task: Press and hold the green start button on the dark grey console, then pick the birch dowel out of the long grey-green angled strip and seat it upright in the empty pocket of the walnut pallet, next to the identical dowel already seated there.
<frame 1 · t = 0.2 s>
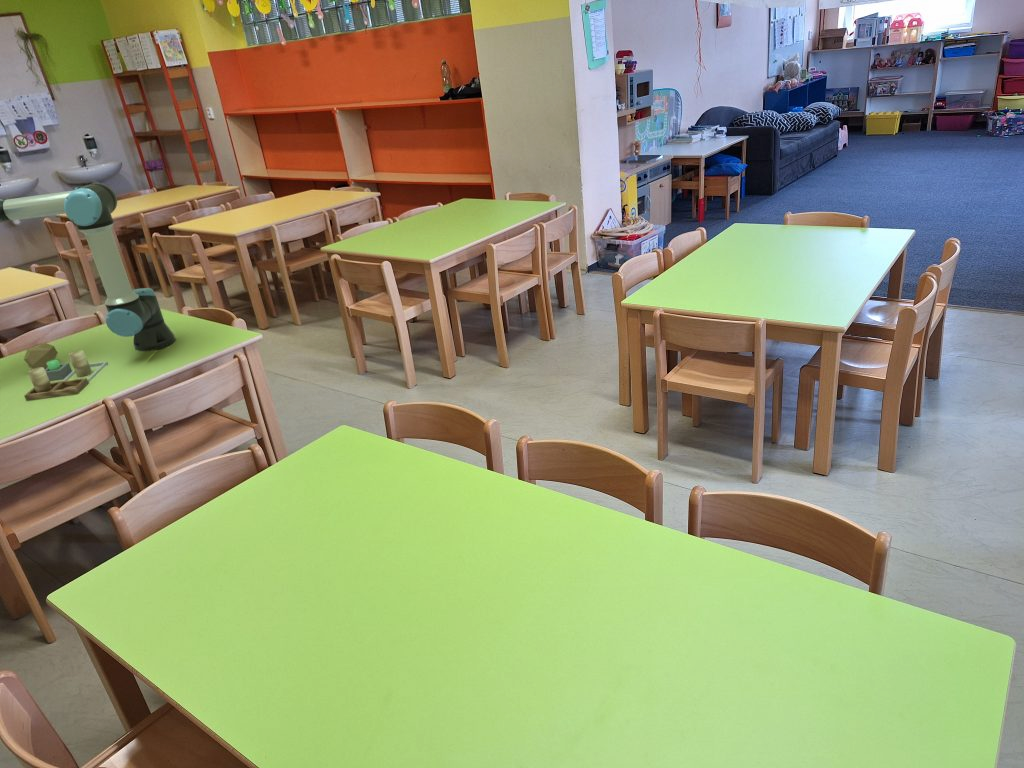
pallet: (59, 394, 253), on the table
button: (55, 368, 264), point 4 cm above the table, slide at 0.0 cm
billet: (85, 375, 265), resting on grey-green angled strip
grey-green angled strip: (85, 376, 265), on the table
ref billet: (46, 393, 252), point 1 cm above the table, touching pallet
console: (59, 378, 266), on the table
low-poly potato: (48, 367, 278), on the table
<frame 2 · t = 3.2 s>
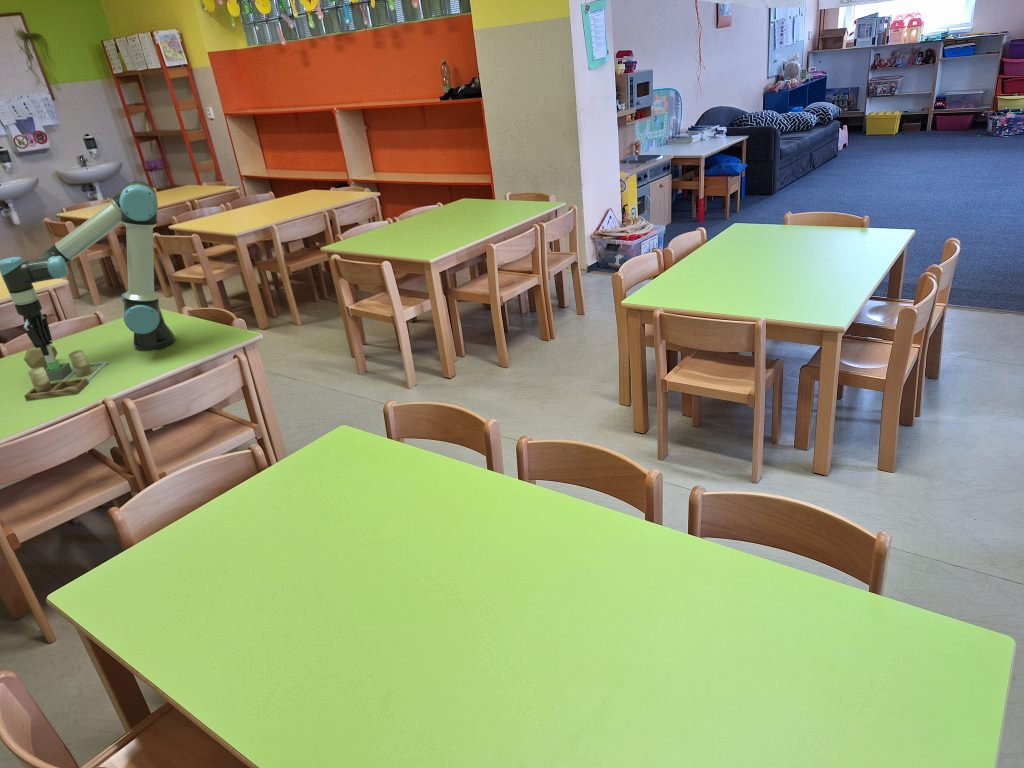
hand: (51, 362, 263), 7 cm above the table, fingers closed
button: (55, 369, 264), point 4 cm above the table, slide at 0.4 cm, touching gripper
everything else where it was.
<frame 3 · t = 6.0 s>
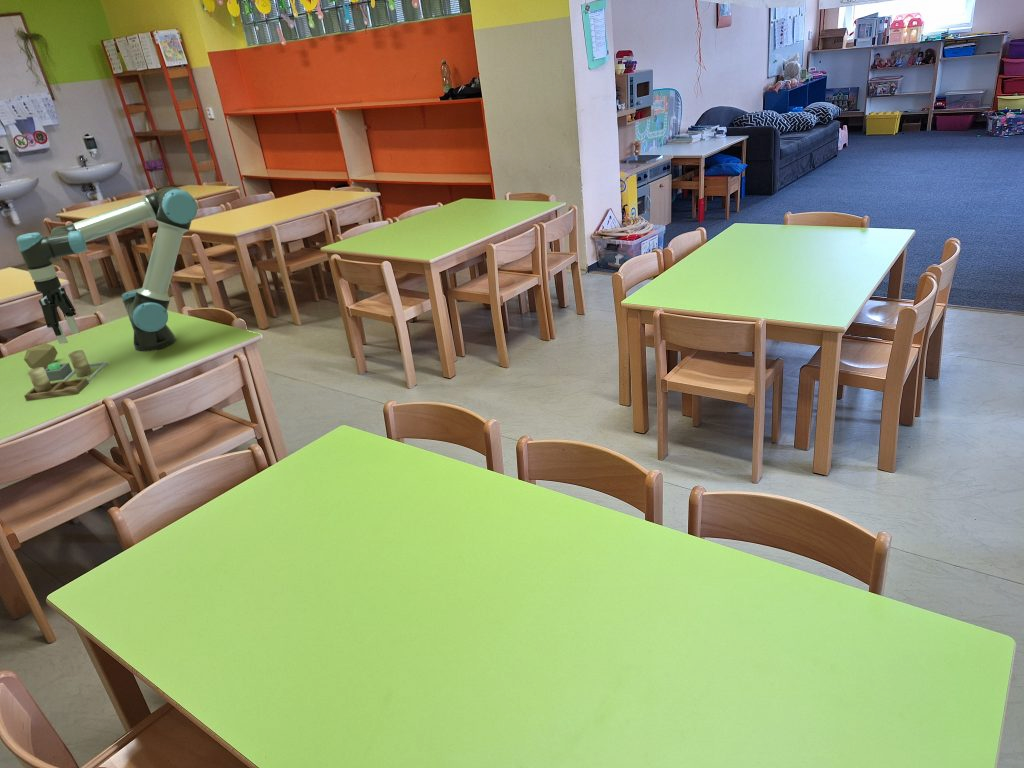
hand: (69, 338, 259), 15 cm above the table, fingers open, 9 cm apart
button: (56, 371, 265), point 3 cm above the table, slide at 1.0 cm
everything else where it was.
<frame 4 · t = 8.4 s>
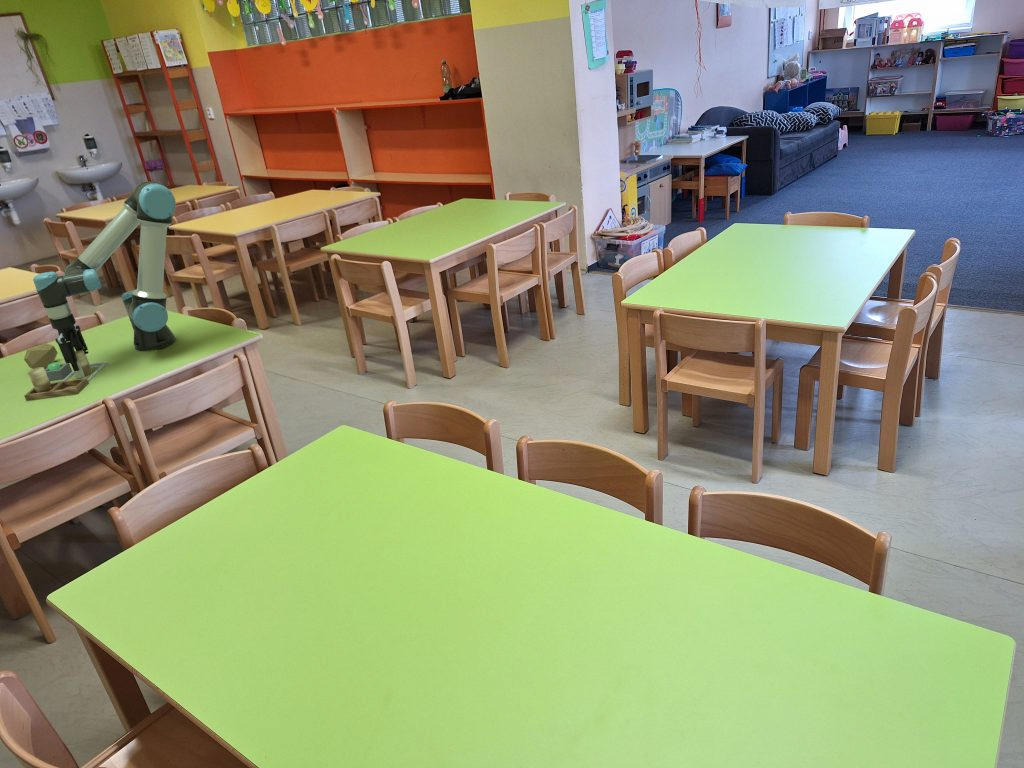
hand: (84, 374, 265), 1 cm above the table, fingers closed on billet, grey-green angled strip, 5 cm apart
billet: (85, 375, 265), resting on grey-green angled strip, touching gripper
everything else where it was.
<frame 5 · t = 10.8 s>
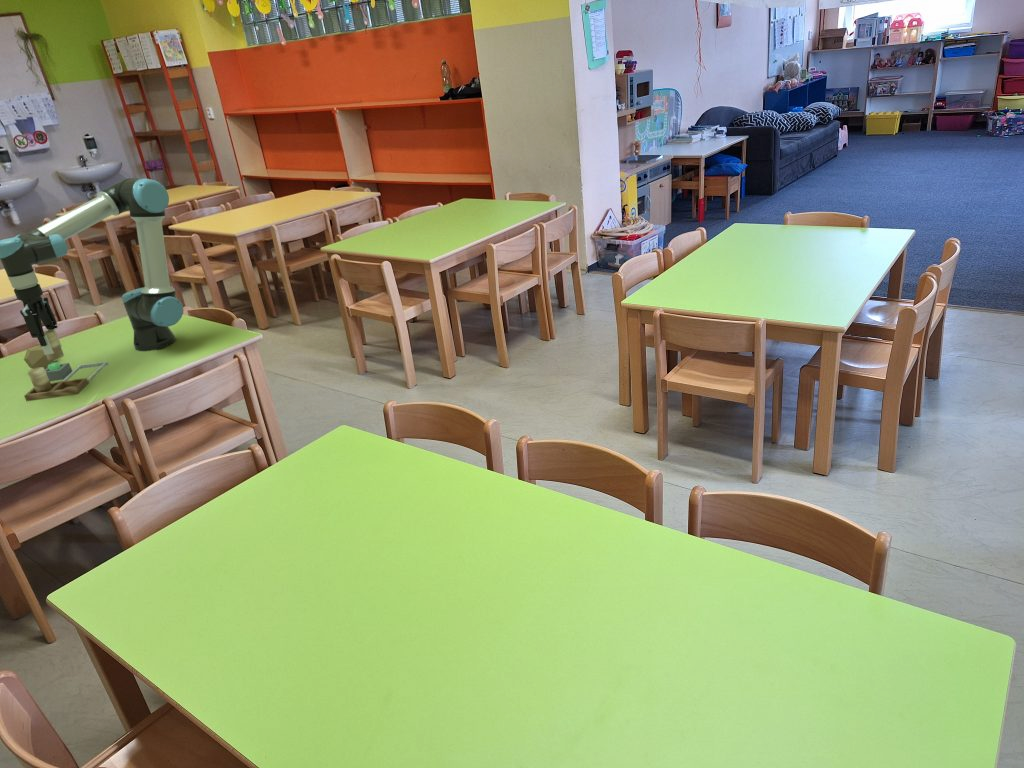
hand: (53, 350, 246), 16 cm above the table, fingers closed on billet, 5 cm apart
billet: (56, 357, 247), point 14 cm above the table, touching gripper
everything else where it was.
when the fingers open (4 cm above the table, at t = 13.3 s): billet stays where it is, resting on pallet.
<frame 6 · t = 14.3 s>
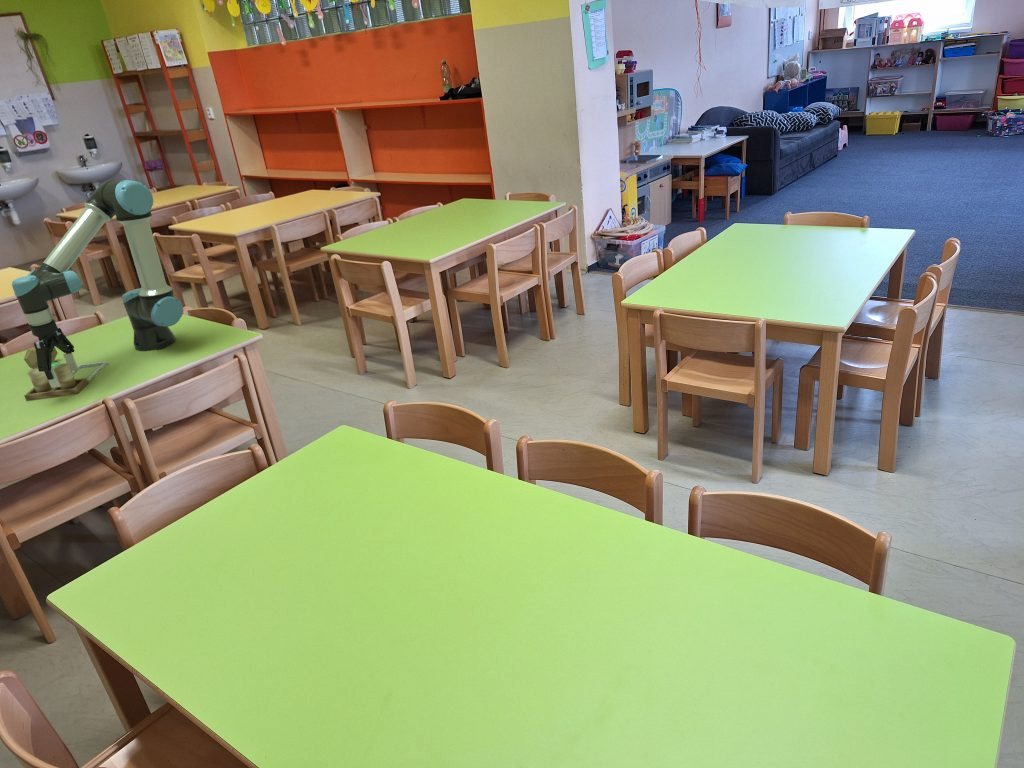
hand: (65, 378, 250), 6 cm above the table, fingers open, 13 cm apart
billet: (70, 390, 252), point 1 cm above the table, touching pallet
everything else where it was.
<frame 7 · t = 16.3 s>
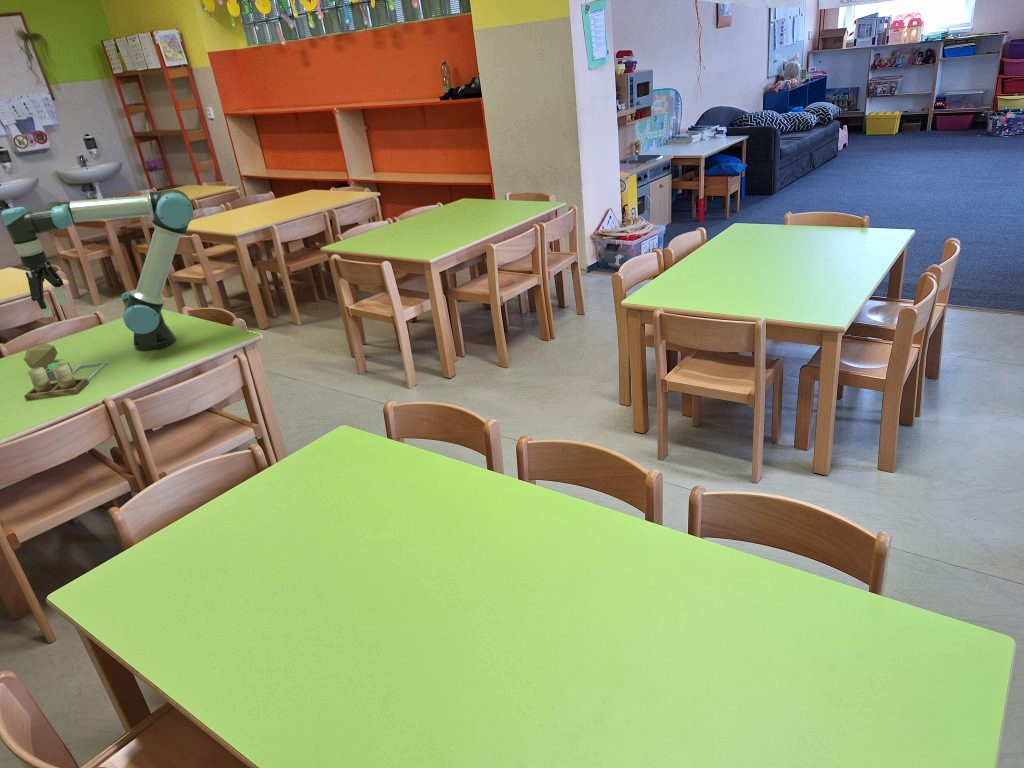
hand: (56, 310, 258), 25 cm above the table, fingers open, 13 cm apart
nothing on the table moved.
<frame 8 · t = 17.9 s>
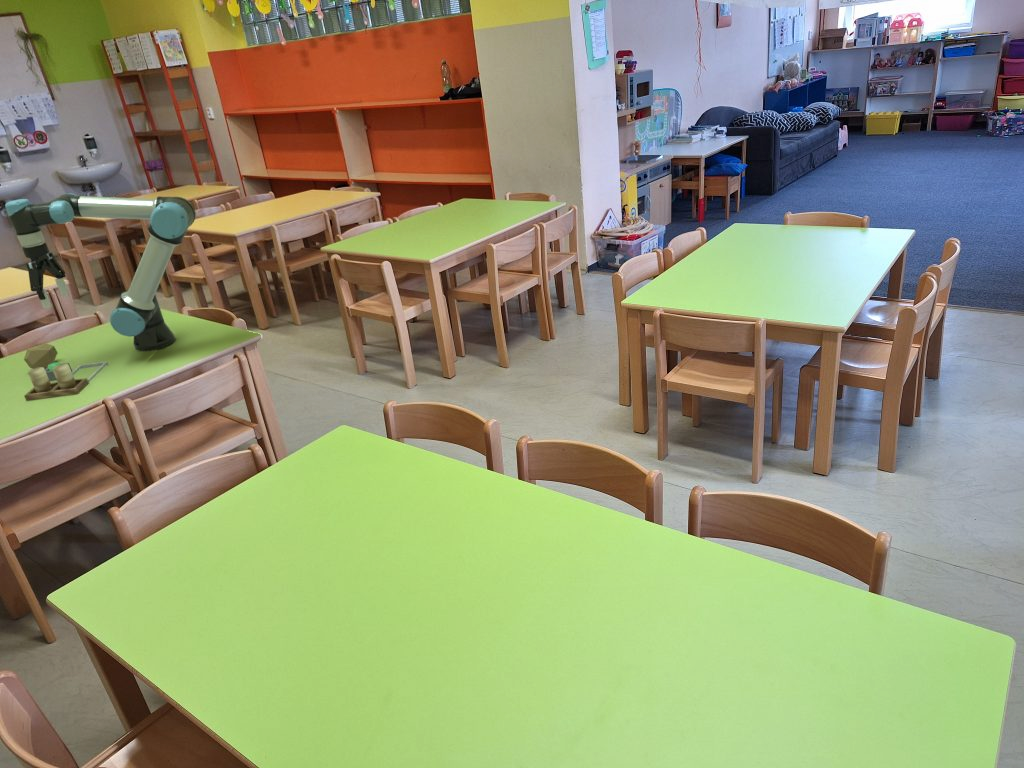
hand: (56, 301, 262), 27 cm above the table, fingers open, 13 cm apart
nothing on the table moved.
at the end: billet 0.0 cm from the target spot on the pallet, point 1.0 cm above the pallet's base; billet tilted 0°; the gripper is holding nothing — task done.
